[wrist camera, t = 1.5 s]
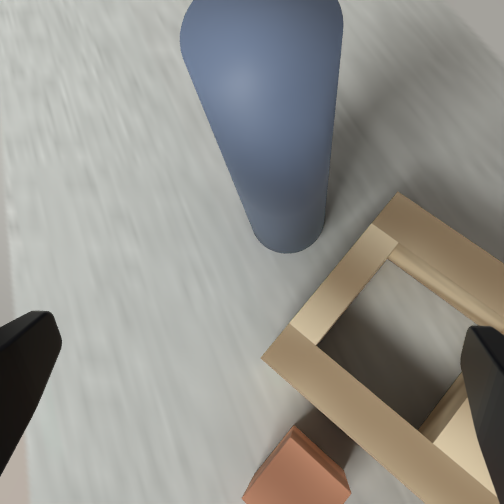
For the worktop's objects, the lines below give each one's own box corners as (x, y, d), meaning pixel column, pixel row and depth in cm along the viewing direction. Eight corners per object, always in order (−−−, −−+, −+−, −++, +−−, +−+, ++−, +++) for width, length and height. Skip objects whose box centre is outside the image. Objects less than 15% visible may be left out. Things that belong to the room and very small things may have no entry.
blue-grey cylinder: (292, 268, 23) (269, 131, 10) (236, 223, 24) (147, 46, 11) (339, 212, 24) (378, 10, 10) (282, 171, 25) (251, -61, 11)
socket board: (543, 758, 17) (611, 871, 13) (208, 430, 22) (186, 443, 18) (736, 457, 19) (846, 480, 15) (386, 213, 23) (402, 182, 20)
